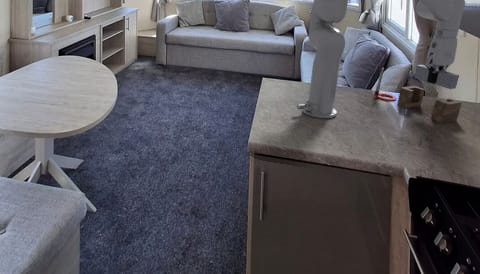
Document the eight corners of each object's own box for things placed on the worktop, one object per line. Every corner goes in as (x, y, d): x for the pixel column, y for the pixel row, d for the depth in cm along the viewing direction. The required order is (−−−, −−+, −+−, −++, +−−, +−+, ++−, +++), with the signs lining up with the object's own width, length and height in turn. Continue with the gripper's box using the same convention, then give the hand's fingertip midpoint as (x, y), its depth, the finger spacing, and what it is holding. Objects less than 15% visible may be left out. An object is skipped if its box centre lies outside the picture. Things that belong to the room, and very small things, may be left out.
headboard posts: (456, 121, 148) (462, 102, 145) (441, 123, 145) (447, 104, 142) (410, 102, 166) (415, 85, 163) (397, 104, 163) (400, 87, 160)
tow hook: (396, 98, 173) (375, 93, 176) (404, 69, 167) (382, 65, 171) (394, 103, 166) (372, 98, 169) (402, 74, 160) (379, 69, 164)
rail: (455, 88, 144) (459, 75, 142) (450, 89, 143) (453, 75, 141) (419, 76, 158) (422, 64, 156) (414, 77, 157) (416, 65, 155)
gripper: (438, 36, 137) (426, 87, 144) (470, 34, 143) (457, 83, 151) (421, 33, 143) (411, 81, 150) (452, 31, 149) (440, 78, 157)
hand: (434, 81), depth 150 cm, fingers closed on rail, 3 cm apart
